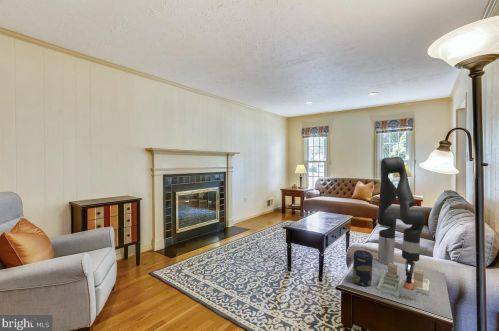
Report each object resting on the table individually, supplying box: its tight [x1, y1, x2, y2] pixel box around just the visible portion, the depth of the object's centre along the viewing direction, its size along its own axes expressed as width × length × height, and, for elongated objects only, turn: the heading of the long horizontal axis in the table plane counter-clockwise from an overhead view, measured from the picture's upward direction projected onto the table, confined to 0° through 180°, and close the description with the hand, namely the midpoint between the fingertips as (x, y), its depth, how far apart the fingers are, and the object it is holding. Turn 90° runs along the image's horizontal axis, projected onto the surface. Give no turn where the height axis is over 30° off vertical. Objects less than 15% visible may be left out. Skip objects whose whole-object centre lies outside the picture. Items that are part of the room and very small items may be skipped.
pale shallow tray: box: [412, 274, 430, 297], centre depth 133 cm, size 14×10×2 cm
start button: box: [403, 280, 414, 290], centre depth 125 cm, size 4×4×6 cm
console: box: [399, 281, 418, 301], centre depth 125 cm, size 7×7×4 cm
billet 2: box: [413, 268, 424, 288], centre depth 133 cm, size 4×4×8 cm
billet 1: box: [387, 263, 398, 279], centre depth 138 cm, size 4×4×8 cm
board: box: [376, 271, 404, 297], centre depth 134 cm, size 19×10×3 cm, turn 142°
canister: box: [352, 249, 373, 287], centre depth 136 cm, size 10×10×18 cm
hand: (408, 282), depth 125 cm, fingers closed
